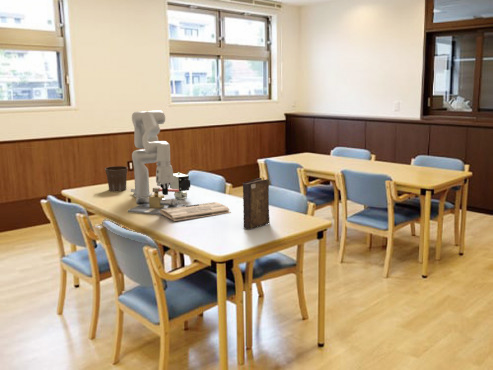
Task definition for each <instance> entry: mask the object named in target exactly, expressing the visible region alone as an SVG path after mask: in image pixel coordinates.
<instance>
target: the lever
mask: <svg viewBox="0 0 493 370" xmlns="http://www.w3.org/2000/svg"><path fill="white" fill-rule="evenodd" d="M154 192H158V193H160V192H162V188H161V187H159V186H157V187H152V193H154ZM169 192H171V193H175V192H179V189H171V188H168V193H169Z"/></svg>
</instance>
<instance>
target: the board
mask: <svg viewBox="0 0 493 370" xmlns="http://www.w3.org/2000/svg"><path fill="white" fill-rule="evenodd" d="M182 206H186V203H178V204H177V207H182ZM167 208H168V206H165V205H164V207H162V208H160V209H167ZM160 209H157V208H149V204H147V205H146V206H144V207H138V205H137V206H134V207H132V208H130V209H127V213H134V214H144V215H145V214H146V215H156V216H164V215H163V214H162V213H160Z"/></svg>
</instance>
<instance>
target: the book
mask: <svg viewBox="0 0 493 370" xmlns="http://www.w3.org/2000/svg"><path fill="white" fill-rule="evenodd" d="M269 187H270V178H266V179H263V177H258V178H256V179H251V180H249V181H248V180H247V181H244V182H243V183H242V199H243V203H242V206H243V218H242V219H243V229H247V230H254V229H256V228H259V227H262V226H266V225H265V224H267V225H269V224H270V203H269V202H270V201H269V200H270V199H269V198H270V197H269V196H270V195H269V192H270V190H269ZM268 223H269V224H268Z"/></svg>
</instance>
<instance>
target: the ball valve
mask: <svg viewBox="0 0 493 370" xmlns="http://www.w3.org/2000/svg"><path fill="white" fill-rule="evenodd" d="M173 175H174V181H173V182H172V184H170V185H169V189H179V192H173V195H174V198H176V199H177V200H185V198H187V197H188V192H187V191H190V188H191V180H190V176H189V175H187V174H185V173H181V172H179V171H178V172H176V173H174V172H173Z"/></svg>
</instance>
